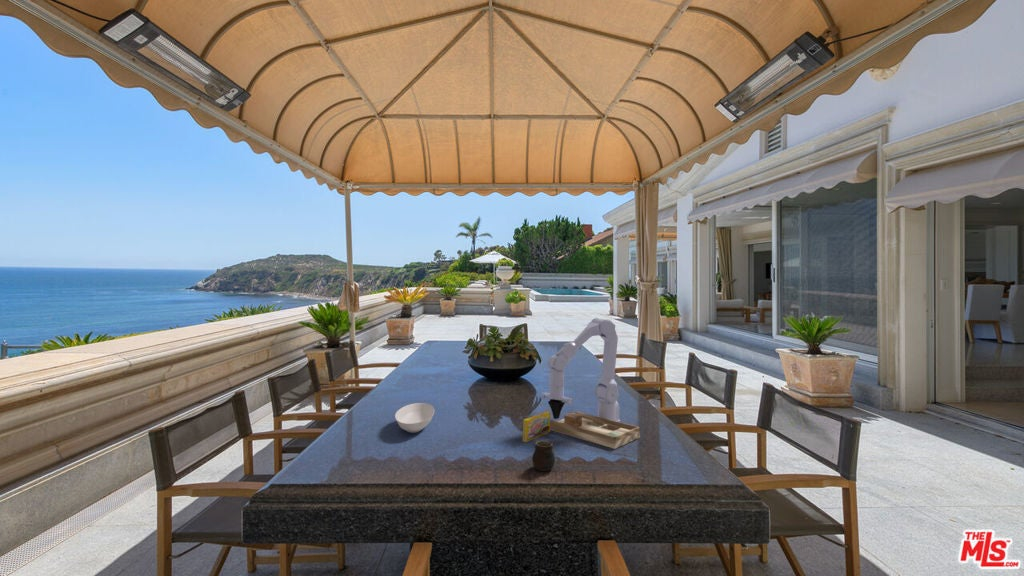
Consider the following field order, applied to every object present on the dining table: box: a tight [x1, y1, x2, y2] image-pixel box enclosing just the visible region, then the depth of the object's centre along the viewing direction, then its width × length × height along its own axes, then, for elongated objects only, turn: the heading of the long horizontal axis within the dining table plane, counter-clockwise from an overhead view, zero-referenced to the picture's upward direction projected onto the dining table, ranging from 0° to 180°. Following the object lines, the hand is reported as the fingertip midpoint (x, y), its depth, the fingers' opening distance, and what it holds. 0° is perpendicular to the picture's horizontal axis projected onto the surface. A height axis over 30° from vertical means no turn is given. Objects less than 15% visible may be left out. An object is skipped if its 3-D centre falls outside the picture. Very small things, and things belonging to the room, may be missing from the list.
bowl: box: [394, 402, 436, 434], centre depth 185 cm, size 30×15×6 cm, turn 4°
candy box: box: [521, 410, 551, 443], centre depth 176 cm, size 16×2×8 cm, turn 143°
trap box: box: [550, 411, 641, 450], centre depth 181 cm, size 18×30×4 cm, turn 46°
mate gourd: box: [531, 440, 556, 472], centre depth 145 cm, size 7×8×10 cm
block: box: [563, 412, 582, 427], centre depth 183 cm, size 5×5×4 cm
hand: (556, 418), depth 189 cm, fingers closed
